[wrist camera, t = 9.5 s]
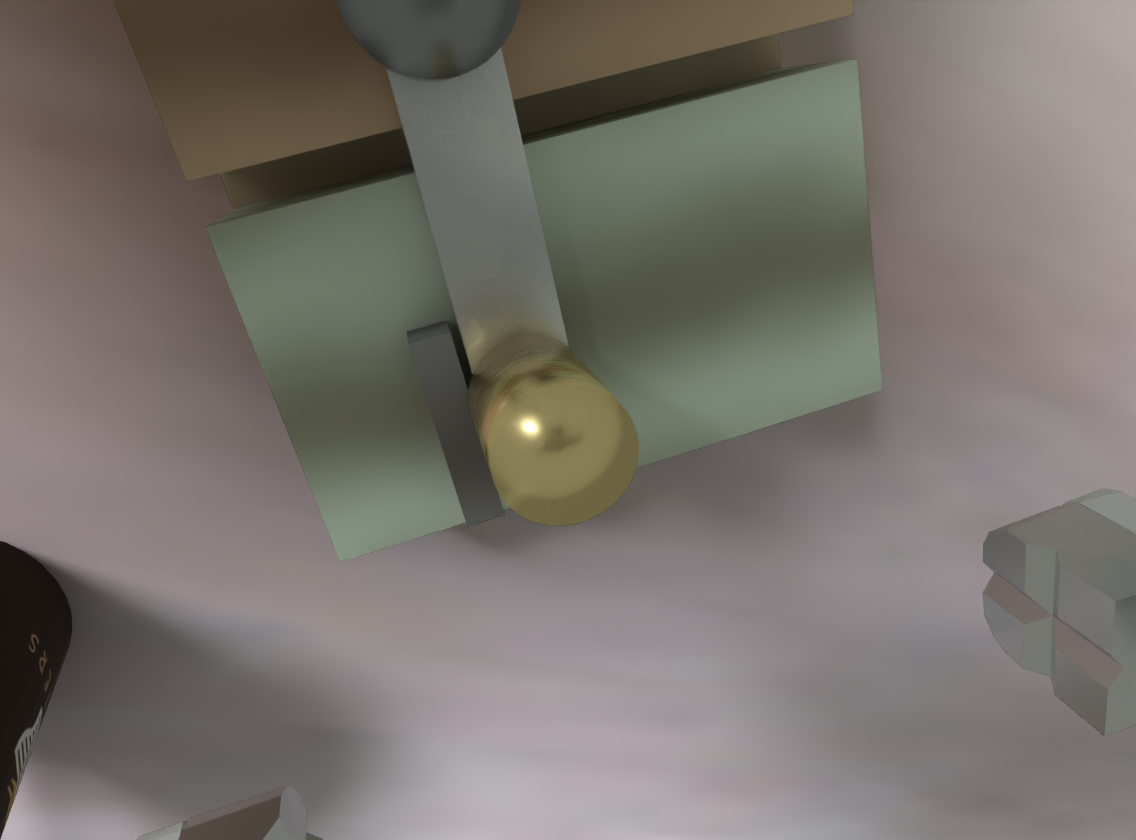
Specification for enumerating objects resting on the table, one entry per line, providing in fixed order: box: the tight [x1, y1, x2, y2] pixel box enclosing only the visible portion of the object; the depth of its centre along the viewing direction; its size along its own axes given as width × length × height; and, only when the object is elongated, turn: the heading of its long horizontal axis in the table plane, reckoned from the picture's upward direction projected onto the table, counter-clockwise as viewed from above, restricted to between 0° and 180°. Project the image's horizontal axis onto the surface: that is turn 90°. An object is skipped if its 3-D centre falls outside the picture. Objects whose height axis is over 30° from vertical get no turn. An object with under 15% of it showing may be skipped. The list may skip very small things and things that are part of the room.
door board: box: [113, 0, 882, 562], centre depth 21 cm, size 17×16×7 cm
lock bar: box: [335, 0, 639, 526], centre depth 16 cm, size 12×4×5 cm, turn 13°
